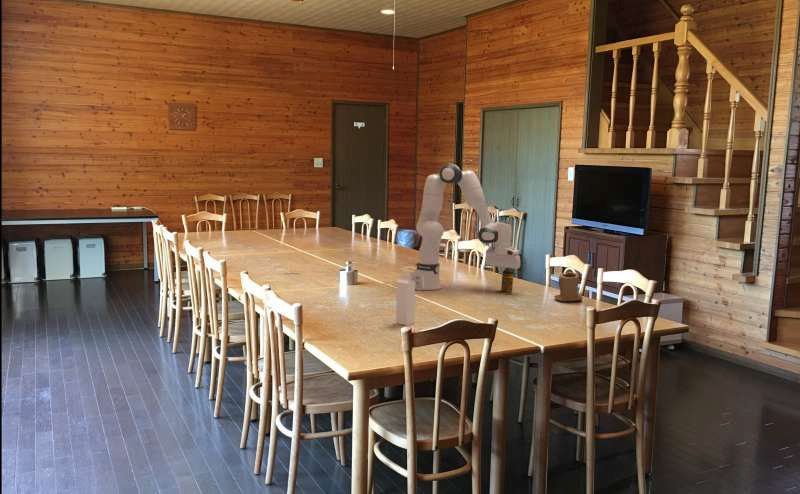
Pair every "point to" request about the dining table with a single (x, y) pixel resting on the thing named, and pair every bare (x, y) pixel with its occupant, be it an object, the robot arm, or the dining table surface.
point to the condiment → (506, 282)
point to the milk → (405, 300)
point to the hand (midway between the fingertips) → (501, 274)
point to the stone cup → (568, 287)
